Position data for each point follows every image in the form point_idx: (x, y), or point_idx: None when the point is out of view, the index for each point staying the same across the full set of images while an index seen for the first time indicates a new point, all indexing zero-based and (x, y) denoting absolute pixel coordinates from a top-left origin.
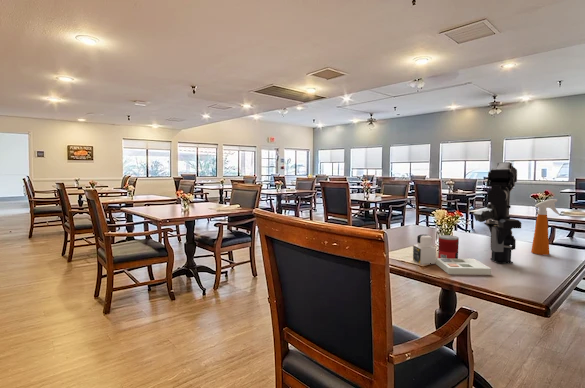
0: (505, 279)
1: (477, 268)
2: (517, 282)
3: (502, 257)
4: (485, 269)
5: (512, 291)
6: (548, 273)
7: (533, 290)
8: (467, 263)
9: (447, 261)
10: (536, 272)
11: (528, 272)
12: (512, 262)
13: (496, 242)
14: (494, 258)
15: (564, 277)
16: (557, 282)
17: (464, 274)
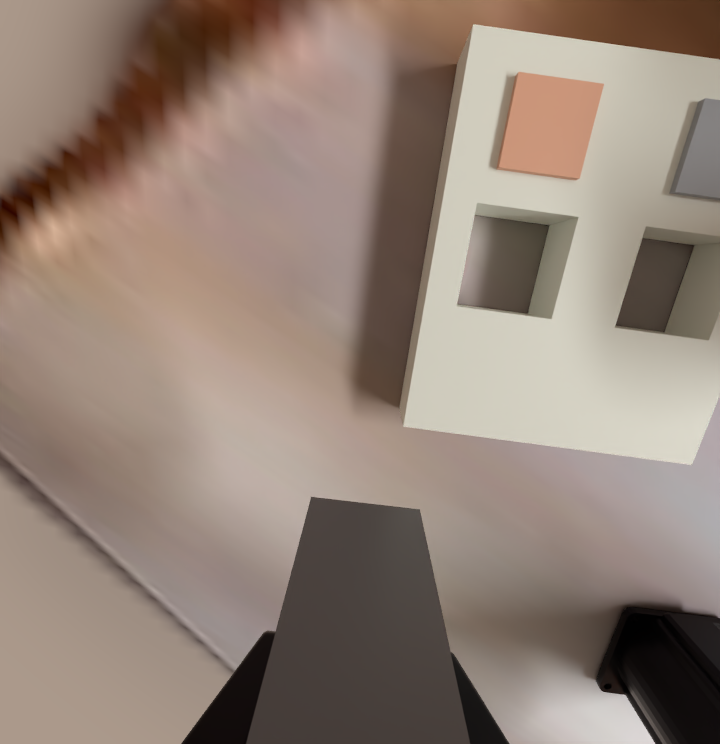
0: (302, 439)
1: (421, 317)
2: (244, 471)
3: (652, 673)
4: (410, 380)
5: (78, 332)
6: None
7: (109, 464)
8: (575, 318)
9: (686, 144)
10: None
11: None
12: (600, 685)
13: (278, 627)
14: (679, 627)
15: None
16: None
17: (433, 211)
